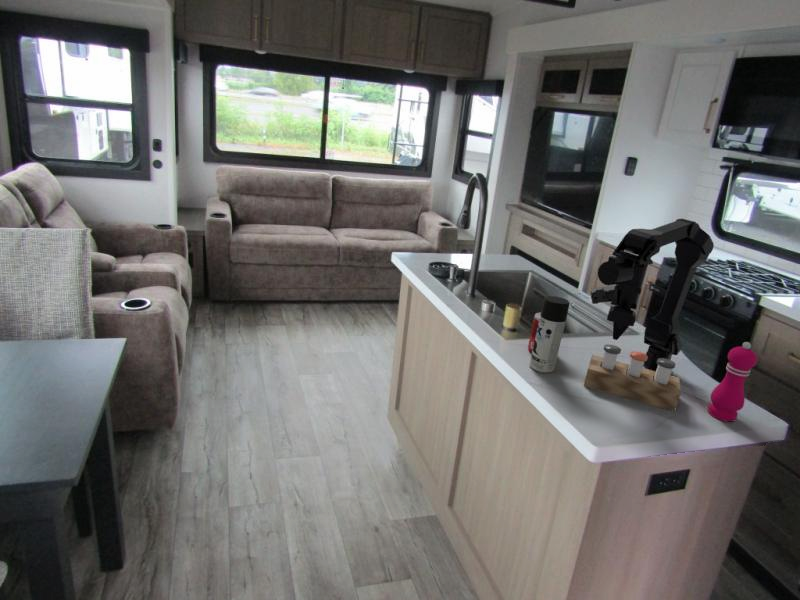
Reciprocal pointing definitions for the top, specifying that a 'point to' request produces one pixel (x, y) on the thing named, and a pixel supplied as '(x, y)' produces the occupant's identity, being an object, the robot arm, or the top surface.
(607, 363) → the plug
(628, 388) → the socket board
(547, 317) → the spray can
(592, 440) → the top surface
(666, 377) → the plug
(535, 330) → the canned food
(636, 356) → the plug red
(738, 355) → the pepper mill
